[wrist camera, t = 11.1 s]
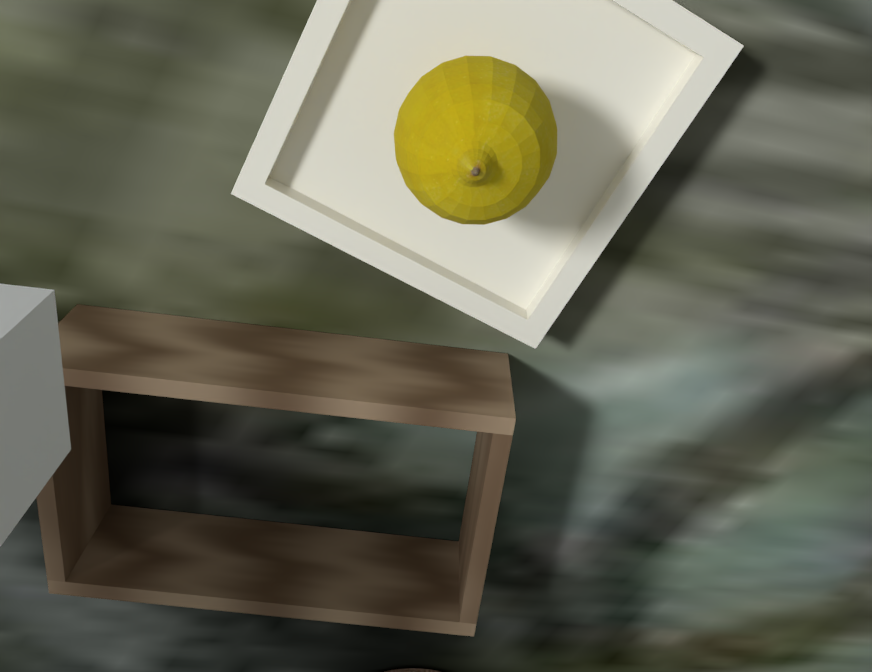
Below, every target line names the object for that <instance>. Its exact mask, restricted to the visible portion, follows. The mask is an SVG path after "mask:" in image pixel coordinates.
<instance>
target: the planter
mask: <svg viewBox="0 0 872 672" xmlns="http://www.w3.org/2000/svg"><path fill="white" fill-rule="evenodd" d="M386 672H440V671H436V670H430V669H420V668H405V669H396V670H390V671H386Z"/></svg>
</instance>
